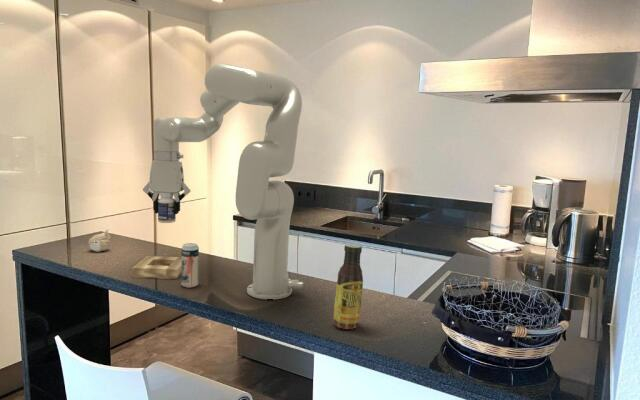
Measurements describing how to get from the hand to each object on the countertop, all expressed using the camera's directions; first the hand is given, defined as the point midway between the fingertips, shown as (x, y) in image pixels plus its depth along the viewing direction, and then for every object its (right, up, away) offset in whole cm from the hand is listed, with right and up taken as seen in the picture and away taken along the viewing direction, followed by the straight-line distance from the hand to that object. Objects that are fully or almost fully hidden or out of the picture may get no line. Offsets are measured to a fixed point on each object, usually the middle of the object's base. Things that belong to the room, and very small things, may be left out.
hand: (166, 212), depth 152 cm
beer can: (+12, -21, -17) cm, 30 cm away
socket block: (0, -18, -6) cm, 19 cm away
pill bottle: (0, -3, +1) cm, 3 cm away
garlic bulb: (-28, -14, +13) cm, 34 cm away
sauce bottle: (+56, -26, -39) cm, 73 cm away
